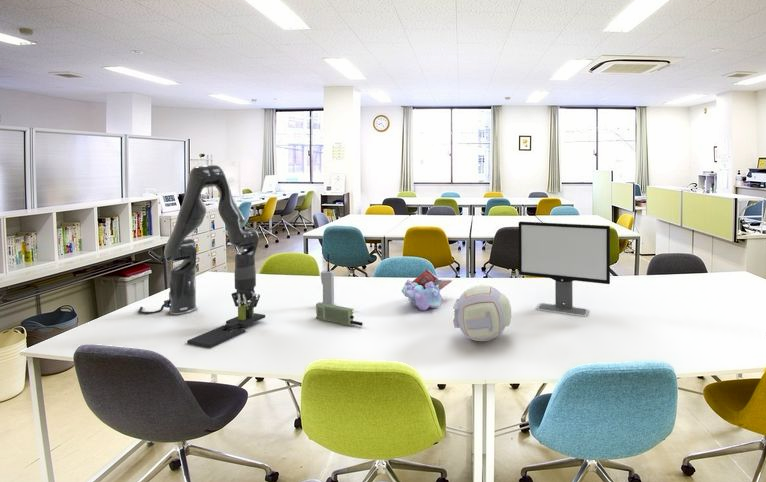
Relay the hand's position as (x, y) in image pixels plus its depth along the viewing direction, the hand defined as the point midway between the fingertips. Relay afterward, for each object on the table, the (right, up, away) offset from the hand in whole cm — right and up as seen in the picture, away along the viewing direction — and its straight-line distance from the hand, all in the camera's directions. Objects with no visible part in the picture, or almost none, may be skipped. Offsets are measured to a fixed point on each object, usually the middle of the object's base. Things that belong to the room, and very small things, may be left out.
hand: (246, 317), depth 154 cm
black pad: (0, -2, -1) cm, 2 cm away
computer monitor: (+137, -2, +14) cm, 138 cm away
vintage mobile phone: (+26, -3, +21) cm, 33 cm away
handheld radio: (+38, -3, +2) cm, 39 cm away
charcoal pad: (-4, -4, -12) cm, 13 cm away
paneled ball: (+100, -3, -13) cm, 101 cm away
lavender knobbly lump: (+72, -3, +23) cm, 76 cm away
